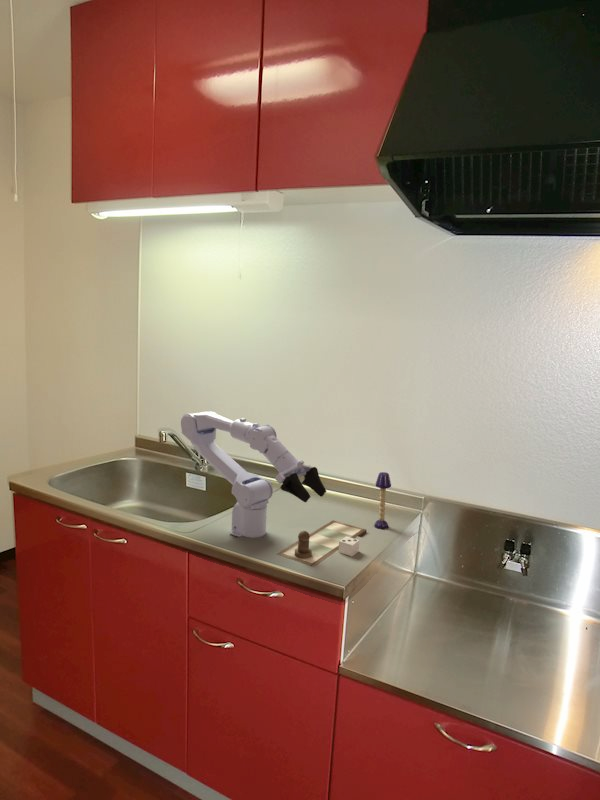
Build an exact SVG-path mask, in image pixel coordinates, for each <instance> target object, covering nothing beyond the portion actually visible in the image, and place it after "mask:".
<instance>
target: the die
mask: <svg viewBox="0 0 600 800" xmlns="http://www.w3.org/2000/svg"><path fill="white" fill-rule="evenodd" d="M337 551H338V552H337V553H340V554H343V555H346V556H349V557H353V556H354V555H356V554H357V553H359V552H360V539H357V538H350V537H347V536H346V537H344V538H343V539H341V540H340V541H339V549H338V550H337Z"/></svg>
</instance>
